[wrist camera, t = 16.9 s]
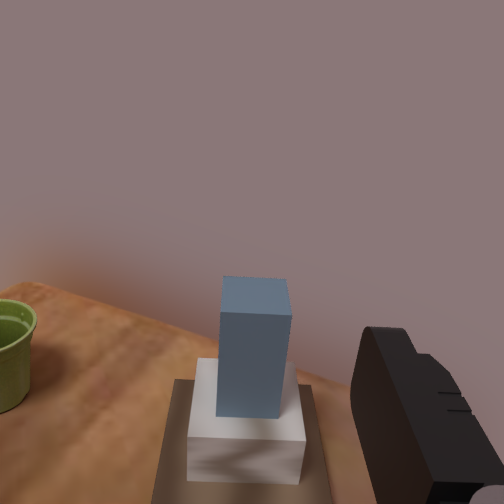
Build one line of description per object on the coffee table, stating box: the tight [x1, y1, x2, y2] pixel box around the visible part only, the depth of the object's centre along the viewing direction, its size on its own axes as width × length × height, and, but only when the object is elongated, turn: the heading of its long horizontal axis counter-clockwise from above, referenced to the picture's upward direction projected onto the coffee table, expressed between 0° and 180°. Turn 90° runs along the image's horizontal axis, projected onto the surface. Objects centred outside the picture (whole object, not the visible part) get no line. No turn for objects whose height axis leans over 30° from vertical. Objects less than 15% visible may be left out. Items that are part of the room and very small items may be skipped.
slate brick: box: [216, 276, 292, 419], centre depth 36 cm, size 5×5×10 cm
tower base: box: [151, 358, 332, 504], centre depth 40 cm, size 14×14×8 cm
